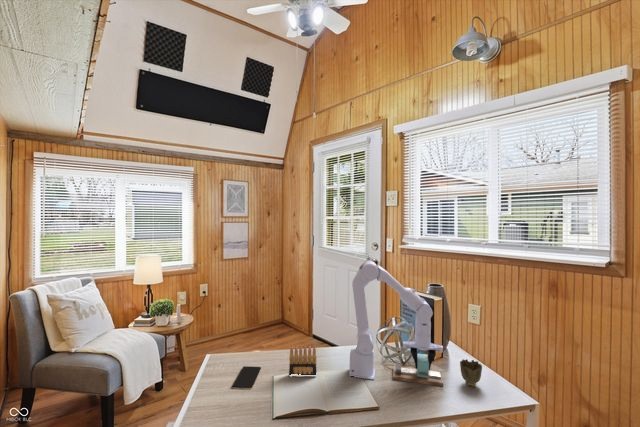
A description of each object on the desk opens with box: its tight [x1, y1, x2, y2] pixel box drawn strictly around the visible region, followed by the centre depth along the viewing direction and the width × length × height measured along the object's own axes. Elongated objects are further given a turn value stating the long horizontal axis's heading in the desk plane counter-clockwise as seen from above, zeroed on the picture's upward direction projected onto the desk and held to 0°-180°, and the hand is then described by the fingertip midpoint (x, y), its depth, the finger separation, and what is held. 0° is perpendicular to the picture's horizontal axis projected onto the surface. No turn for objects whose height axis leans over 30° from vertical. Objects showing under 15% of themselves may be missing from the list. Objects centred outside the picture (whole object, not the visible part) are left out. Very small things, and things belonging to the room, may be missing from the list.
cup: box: [459, 359, 483, 388], centre depth 116 cm, size 8×7×8 cm
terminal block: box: [417, 353, 429, 378], centre depth 120 cm, size 4×7×6 cm, turn 166°
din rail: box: [395, 363, 442, 379], centre depth 122 cm, size 17×5×2 cm, turn 76°
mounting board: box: [392, 364, 444, 387], centre depth 122 cm, size 18×9×1 cm, turn 76°
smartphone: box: [231, 365, 262, 390], centre depth 120 cm, size 7×1×15 cm
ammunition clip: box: [288, 344, 317, 376], centre depth 122 cm, size 11×2×12 cm, turn 91°
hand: (422, 368), depth 121 cm, fingers closed on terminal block, 4 cm apart
